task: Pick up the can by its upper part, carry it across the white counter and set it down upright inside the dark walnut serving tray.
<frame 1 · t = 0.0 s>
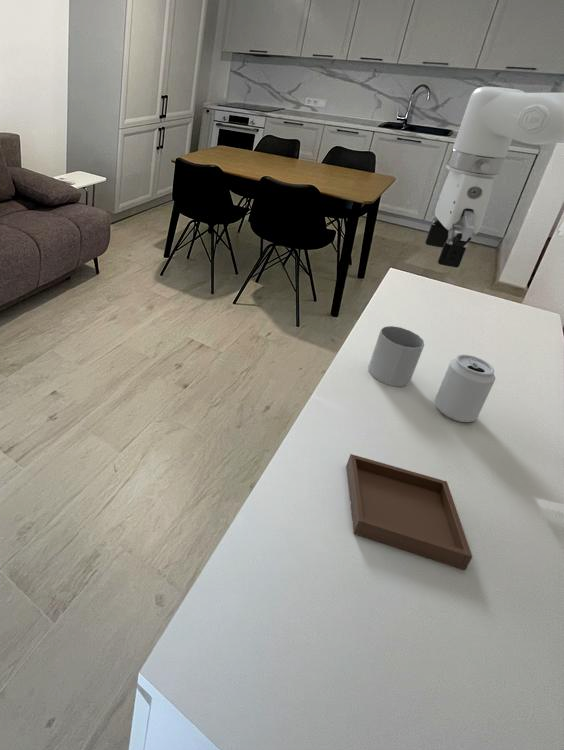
hand: (440, 255, 91), 32 cm above the counter, tool pointing down, fingers open, 9 cm apart
cup: (388, 375, 110), on the counter
can: (453, 412, 100), on the counter
tray: (399, 512, 77), on the counter
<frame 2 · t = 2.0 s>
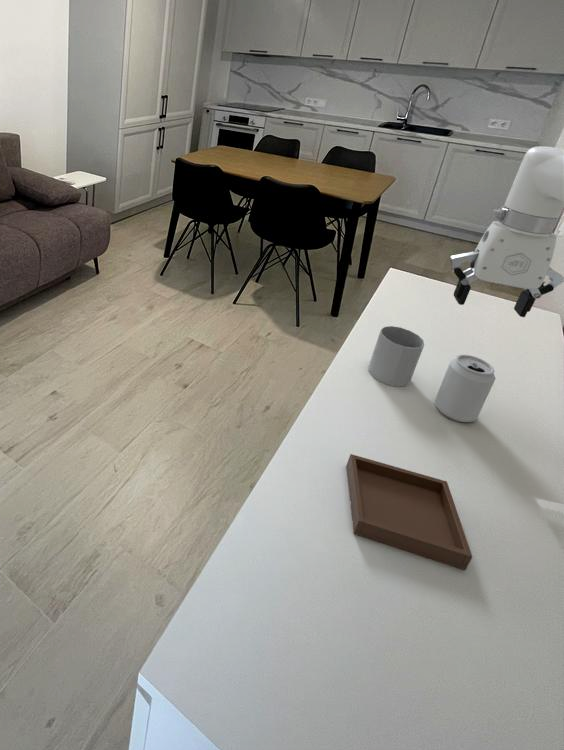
hand: (488, 307, 91), 24 cm above the counter, tool pointing down, fingers open, 9 cm apart
nothing on the counter moved.
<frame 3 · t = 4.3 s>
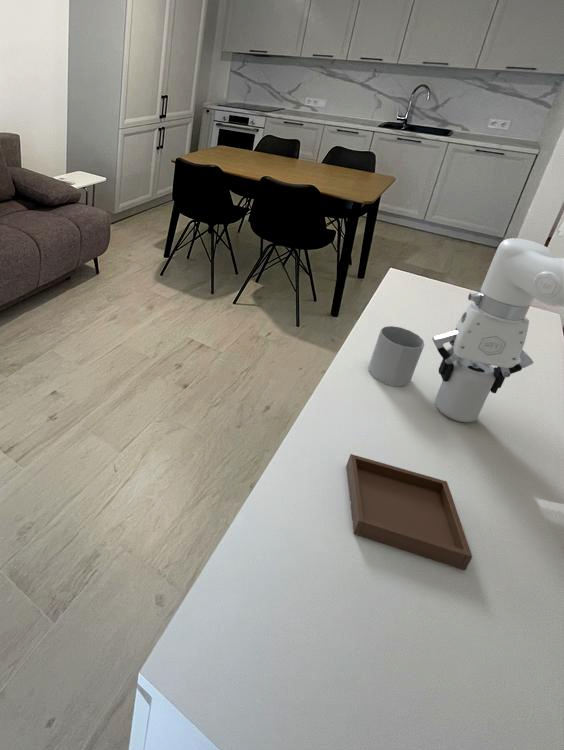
hand: (466, 382, 97), 7 cm above the counter, tool pointing down, fingers closed on can, 7 cm apart
can: (453, 412, 100), on the counter, touching gripper
everything else where it was.
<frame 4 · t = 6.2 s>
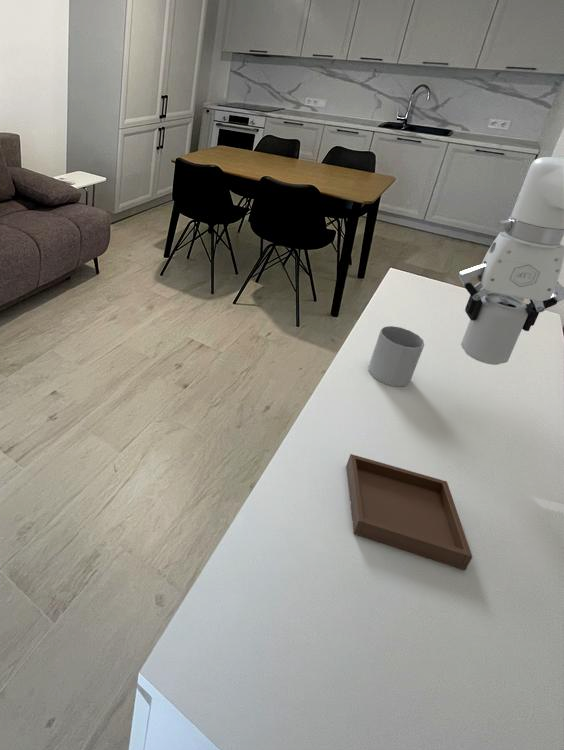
hand: (496, 321, 90), 22 cm above the counter, tool pointing down, fingers closed on can, 7 cm apart
can: (482, 356, 93), point 15 cm above the counter, touching gripper
everything else where it was.
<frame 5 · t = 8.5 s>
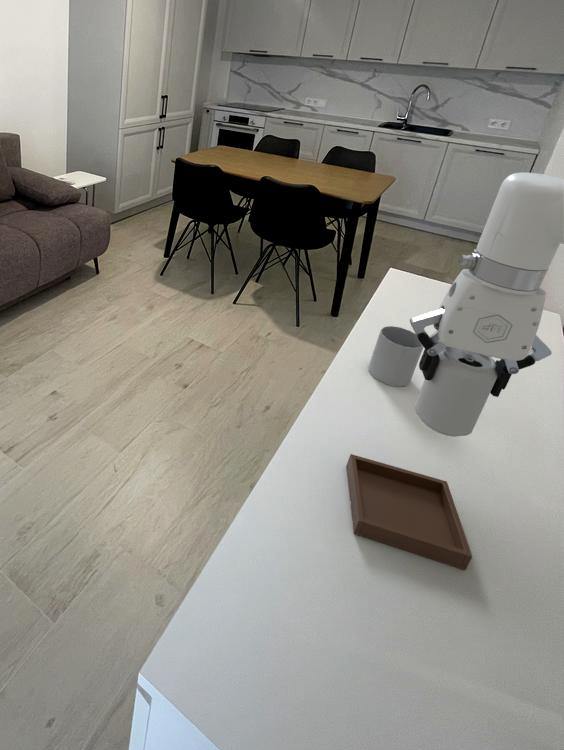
hand: (458, 381, 70), 24 cm above the counter, tool pointing down, fingers closed on can, 7 cm apart
can: (440, 422, 73), point 16 cm above the counter, touching gripper
everything else where it was.
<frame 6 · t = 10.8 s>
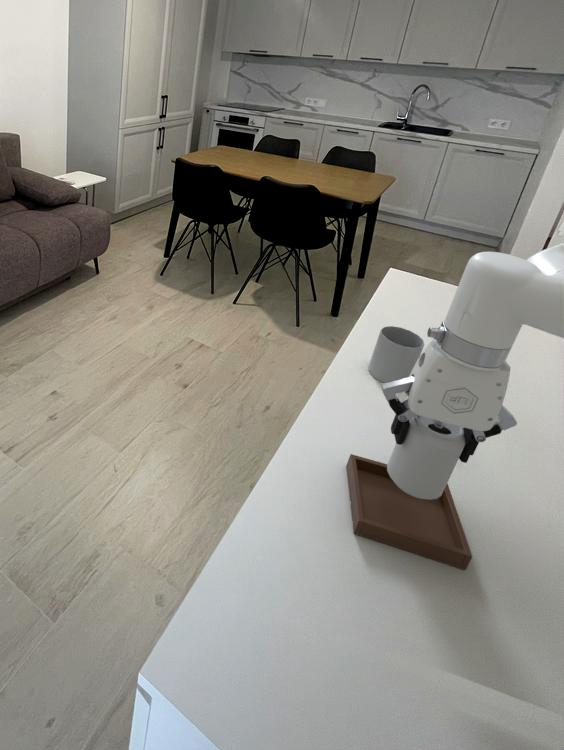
hand: (428, 445, 72), 14 cm above the counter, tool pointing down, fingers closed on can, 7 cm apart
can: (412, 483, 75), point 6 cm above the counter, touching gripper
everything else where it was.
when the fingers open (8 cm above the counter, at t = 12.8 s): can stays where it is, resting on tray.
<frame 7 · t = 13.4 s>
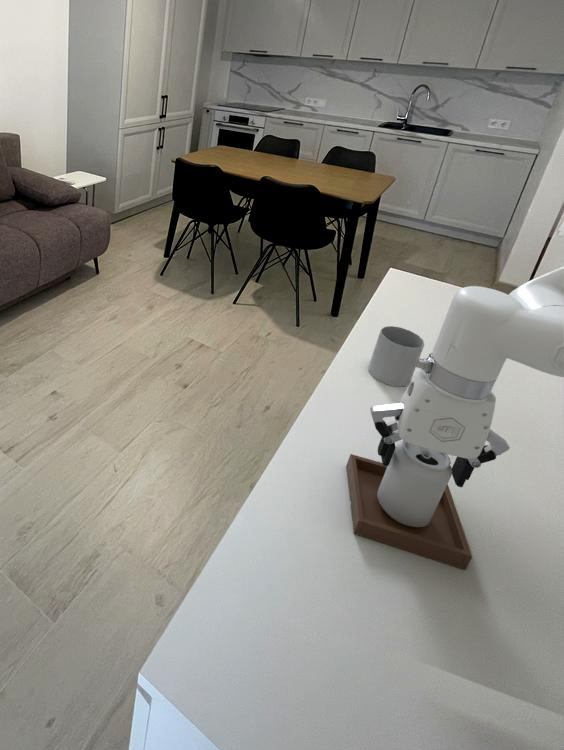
hand: (419, 469, 74), 9 cm above the counter, tool pointing down, fingers open, 9 cm apart
can: (401, 510, 77), point 1 cm above the counter, touching tray
everything else where it was.
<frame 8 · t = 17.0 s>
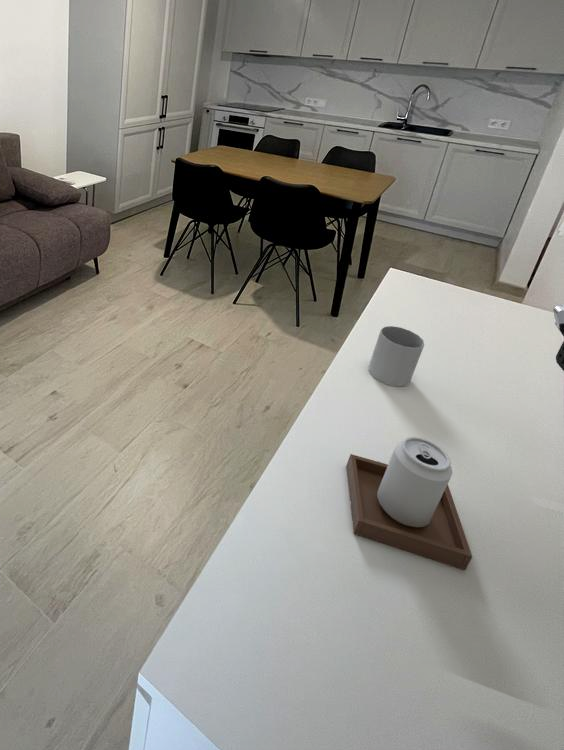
nothing on the counter moved.
at the end: can inside the target area in the tray (0.1 cm from its centre), point 0.6 cm above the tray's base; can tilted 0°; the gripper is holding nothing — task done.
